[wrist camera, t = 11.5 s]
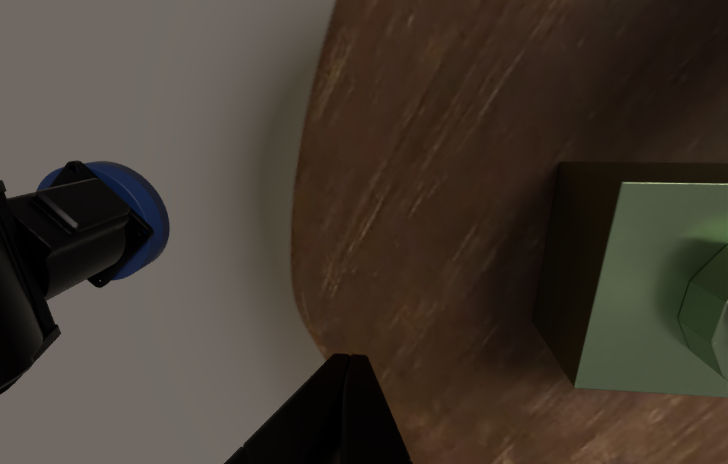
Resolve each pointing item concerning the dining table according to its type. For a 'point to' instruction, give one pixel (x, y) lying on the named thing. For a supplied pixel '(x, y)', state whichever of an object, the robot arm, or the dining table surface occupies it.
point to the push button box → (638, 277)
